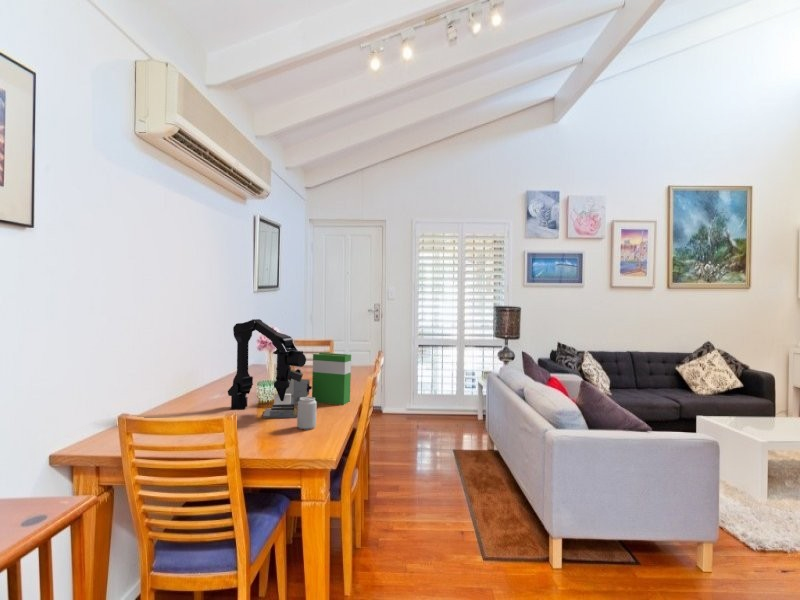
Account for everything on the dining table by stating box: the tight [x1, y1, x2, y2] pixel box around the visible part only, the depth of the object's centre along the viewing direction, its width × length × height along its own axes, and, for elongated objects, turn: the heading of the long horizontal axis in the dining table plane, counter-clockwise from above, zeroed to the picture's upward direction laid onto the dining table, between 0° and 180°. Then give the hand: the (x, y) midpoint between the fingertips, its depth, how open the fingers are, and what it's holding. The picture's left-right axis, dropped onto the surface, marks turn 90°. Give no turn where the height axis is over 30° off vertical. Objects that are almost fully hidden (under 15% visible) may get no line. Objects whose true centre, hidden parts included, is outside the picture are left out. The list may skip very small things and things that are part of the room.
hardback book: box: [311, 352, 352, 406], centre depth 228 cm, size 18×7×24 cm, turn 72°
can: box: [296, 396, 318, 431], centre depth 181 cm, size 8×8×12 cm
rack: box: [262, 403, 298, 419], centre depth 201 cm, size 16×13×3 cm
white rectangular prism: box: [273, 393, 291, 404], centre depth 198 cm, size 7×3×4 cm, turn 101°
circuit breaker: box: [285, 378, 312, 406], centre depth 223 cm, size 8×14×15 cm, turn 89°
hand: (282, 400), depth 198 cm, fingers closed on white rectangular prism, 3 cm apart
